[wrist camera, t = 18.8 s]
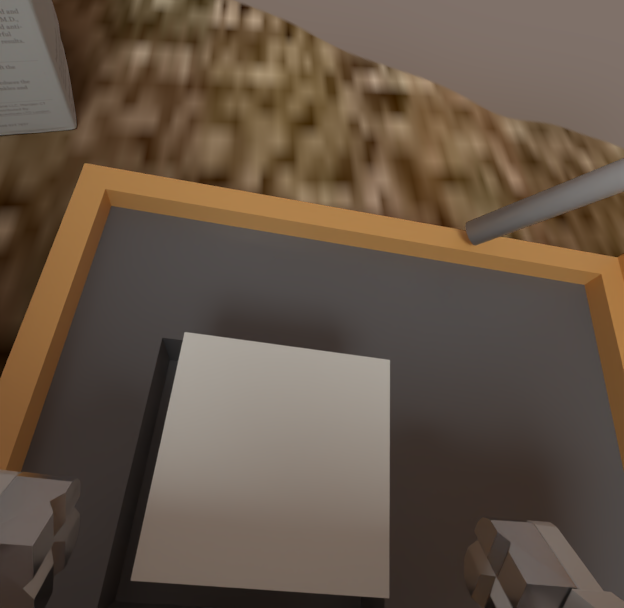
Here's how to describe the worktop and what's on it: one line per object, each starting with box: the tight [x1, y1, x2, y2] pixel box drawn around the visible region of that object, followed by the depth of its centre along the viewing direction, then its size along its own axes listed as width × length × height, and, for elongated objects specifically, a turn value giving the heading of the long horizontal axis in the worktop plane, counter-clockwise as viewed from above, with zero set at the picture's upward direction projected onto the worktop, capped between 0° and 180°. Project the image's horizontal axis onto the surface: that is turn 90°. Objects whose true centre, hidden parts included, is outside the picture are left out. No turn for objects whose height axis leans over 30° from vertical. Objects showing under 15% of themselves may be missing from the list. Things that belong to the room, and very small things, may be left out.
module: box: [130, 332, 390, 598], centre depth 13 cm, size 5×5×8 cm
